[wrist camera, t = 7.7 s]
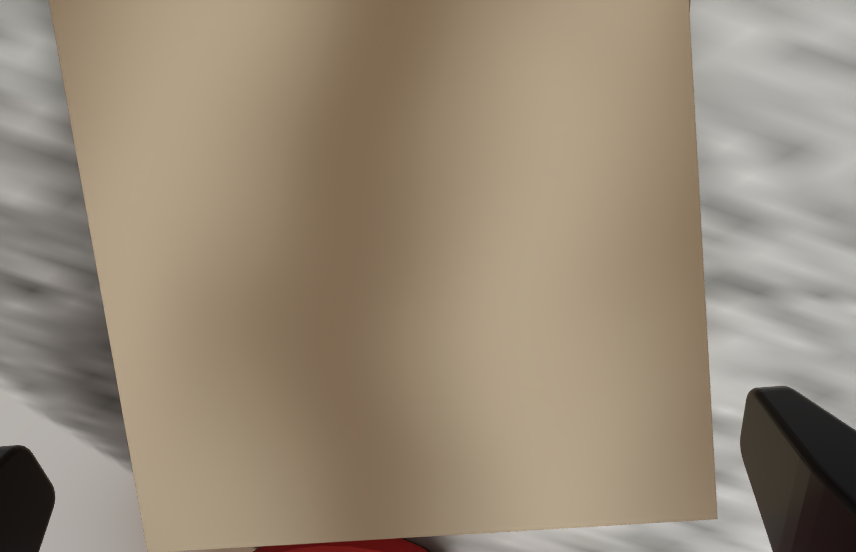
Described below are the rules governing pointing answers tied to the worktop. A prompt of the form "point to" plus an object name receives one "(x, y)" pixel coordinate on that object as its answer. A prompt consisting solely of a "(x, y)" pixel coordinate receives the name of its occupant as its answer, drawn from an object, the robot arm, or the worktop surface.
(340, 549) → the canned food
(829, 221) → the worktop surface
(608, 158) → the ramp
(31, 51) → the worktop surface
